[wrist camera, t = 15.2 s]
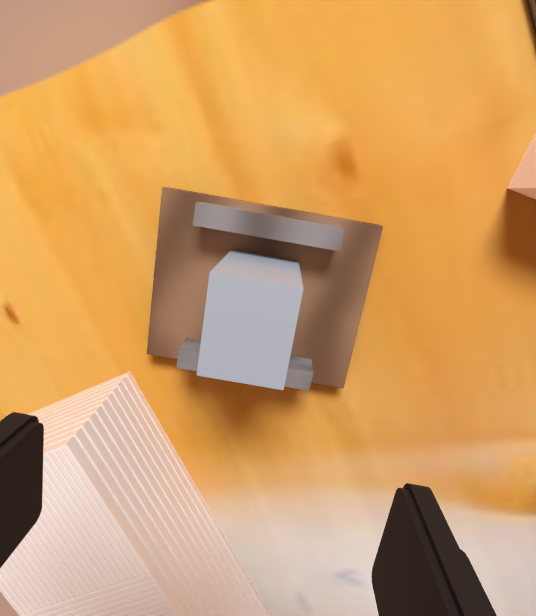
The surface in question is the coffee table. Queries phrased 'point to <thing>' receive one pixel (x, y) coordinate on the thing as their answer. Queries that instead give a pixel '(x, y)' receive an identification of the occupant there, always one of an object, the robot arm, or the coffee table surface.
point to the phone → (532, 11)
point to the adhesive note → (526, 173)
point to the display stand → (272, 242)
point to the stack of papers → (121, 521)
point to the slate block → (250, 319)
